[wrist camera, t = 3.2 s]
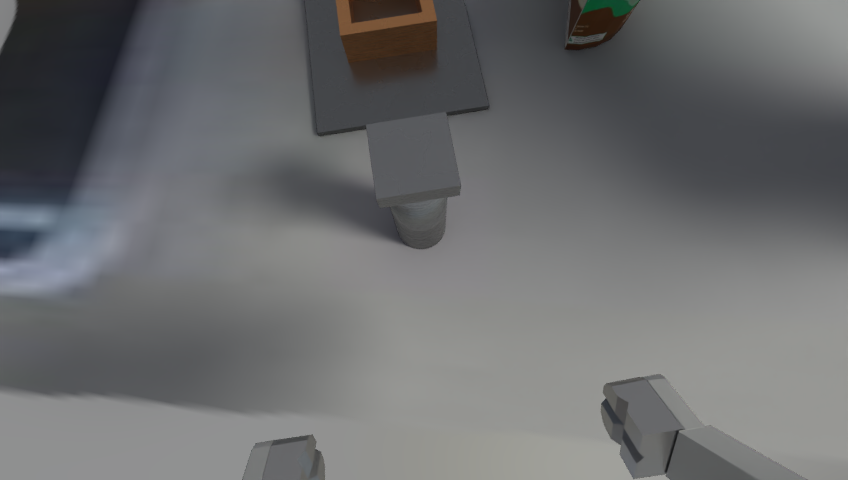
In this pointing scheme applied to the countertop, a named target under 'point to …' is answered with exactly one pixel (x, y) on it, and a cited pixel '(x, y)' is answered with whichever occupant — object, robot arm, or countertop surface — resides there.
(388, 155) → the square-headed pin
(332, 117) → the grey base plate
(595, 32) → the food container
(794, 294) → the countertop surface
